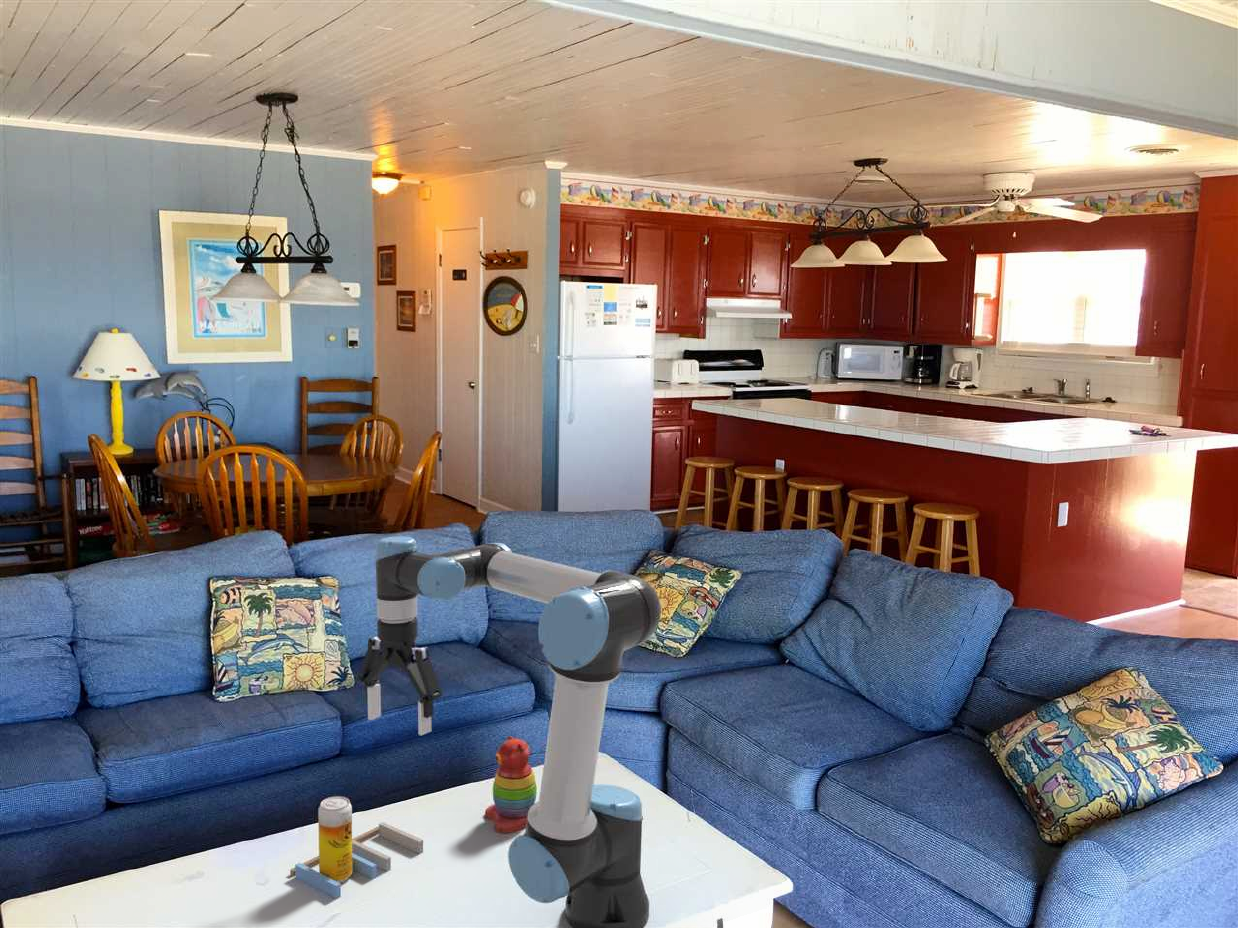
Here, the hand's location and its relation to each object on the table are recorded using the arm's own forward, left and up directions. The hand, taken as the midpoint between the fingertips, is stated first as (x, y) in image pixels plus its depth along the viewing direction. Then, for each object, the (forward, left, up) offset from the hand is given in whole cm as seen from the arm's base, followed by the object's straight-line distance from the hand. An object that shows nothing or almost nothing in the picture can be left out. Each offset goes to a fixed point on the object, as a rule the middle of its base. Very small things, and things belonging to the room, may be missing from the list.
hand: (399, 725), depth 195 cm
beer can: (+5, +11, -28) cm, 31 cm away
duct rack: (+5, +5, -28) cm, 29 cm away
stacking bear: (-6, -27, -28) cm, 39 cm away
